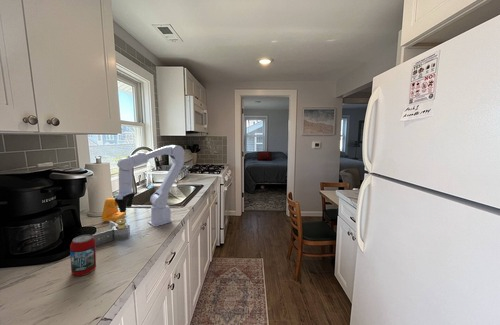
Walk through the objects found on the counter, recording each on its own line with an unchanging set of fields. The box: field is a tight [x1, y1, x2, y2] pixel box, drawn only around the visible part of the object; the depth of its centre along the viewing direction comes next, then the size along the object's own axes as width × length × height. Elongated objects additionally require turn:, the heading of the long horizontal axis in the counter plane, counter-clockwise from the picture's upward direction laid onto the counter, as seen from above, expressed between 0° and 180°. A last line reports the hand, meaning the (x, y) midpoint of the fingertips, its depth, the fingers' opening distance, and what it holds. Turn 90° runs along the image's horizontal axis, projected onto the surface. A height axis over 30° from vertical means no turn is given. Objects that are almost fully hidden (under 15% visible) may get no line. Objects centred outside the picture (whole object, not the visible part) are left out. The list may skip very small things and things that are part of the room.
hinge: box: [92, 221, 131, 247], centre depth 97 cm, size 14×14×5 cm
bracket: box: [101, 197, 127, 222], centre depth 119 cm, size 11×7×12 cm, turn 179°
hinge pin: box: [115, 218, 127, 229], centre depth 98 cm, size 4×4×8 cm
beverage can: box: [69, 234, 97, 277], centre depth 73 cm, size 7×7×12 cm
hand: (126, 209), depth 106 cm, fingers open, 7 cm apart
